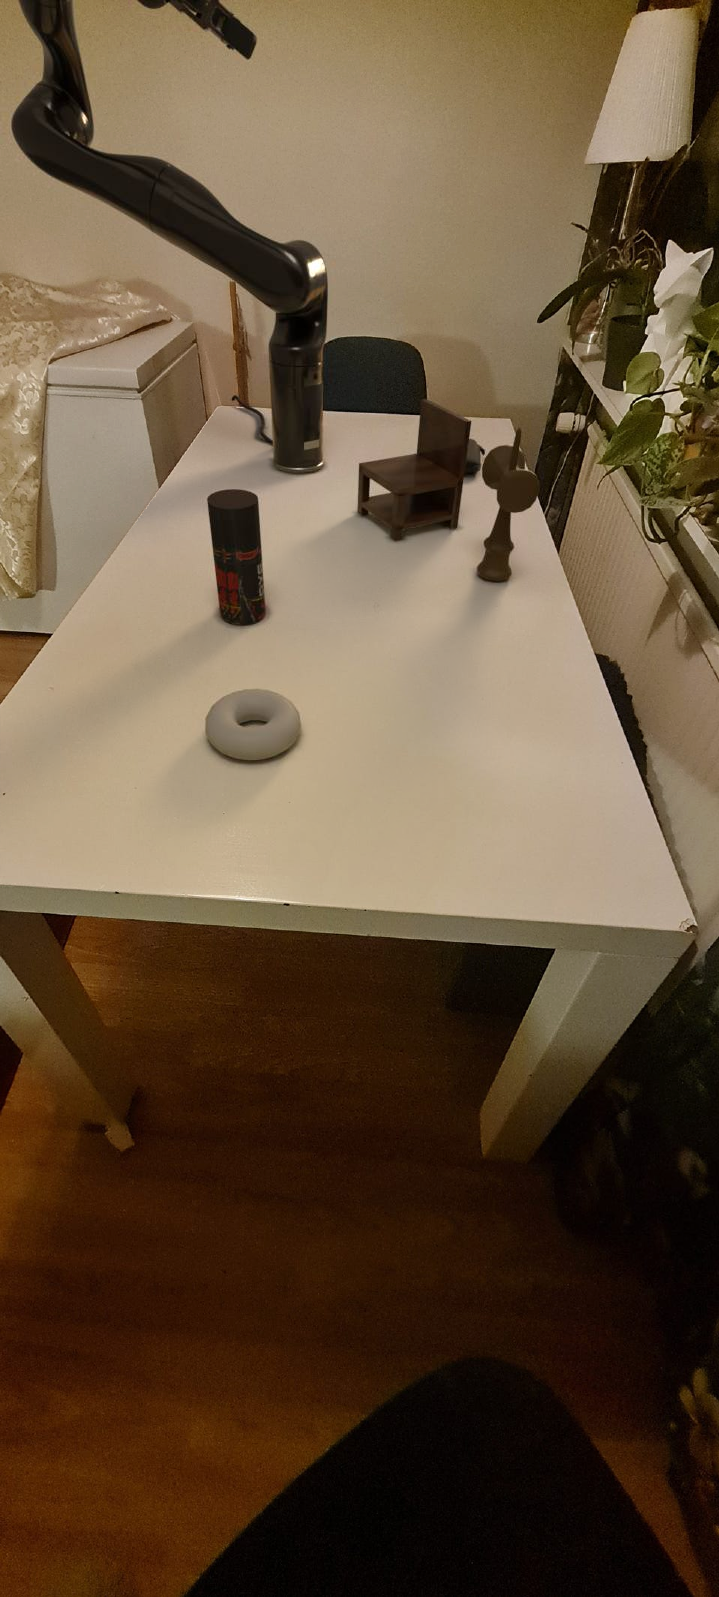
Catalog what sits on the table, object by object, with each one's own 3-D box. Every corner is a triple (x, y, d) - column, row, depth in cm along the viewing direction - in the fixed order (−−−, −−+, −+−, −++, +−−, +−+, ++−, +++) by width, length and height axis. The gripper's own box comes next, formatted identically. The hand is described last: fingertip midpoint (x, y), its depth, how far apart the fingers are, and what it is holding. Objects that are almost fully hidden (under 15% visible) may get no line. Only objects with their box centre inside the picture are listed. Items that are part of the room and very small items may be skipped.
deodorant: (221, 602, 95) (208, 488, 85) (265, 602, 96) (258, 488, 85) (218, 625, 91) (205, 508, 80) (265, 625, 91) (257, 508, 81)
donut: (278, 777, 71) (315, 719, 77) (276, 752, 68) (315, 693, 75) (189, 754, 73) (232, 698, 80) (184, 728, 70) (229, 673, 77)
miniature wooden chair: (357, 513, 118) (360, 407, 107) (417, 501, 123) (426, 398, 111) (395, 541, 111) (403, 431, 100) (457, 527, 115) (471, 420, 104)
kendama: (506, 560, 107) (533, 416, 93) (521, 591, 100) (553, 440, 86) (467, 560, 107) (488, 415, 93) (479, 591, 100) (505, 439, 86)
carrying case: (485, 480, 131) (483, 453, 141) (487, 462, 129) (485, 436, 139) (427, 475, 131) (430, 449, 142) (429, 458, 129) (431, 432, 140)
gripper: (159, 20, 86) (251, 99, 84) (66, -64, 74) (170, 26, 72) (185, -59, 82) (282, 22, 80) (91, -162, 70) (202, -69, 68)
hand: (229, 24), depth 76 cm, fingers open, 8 cm apart
